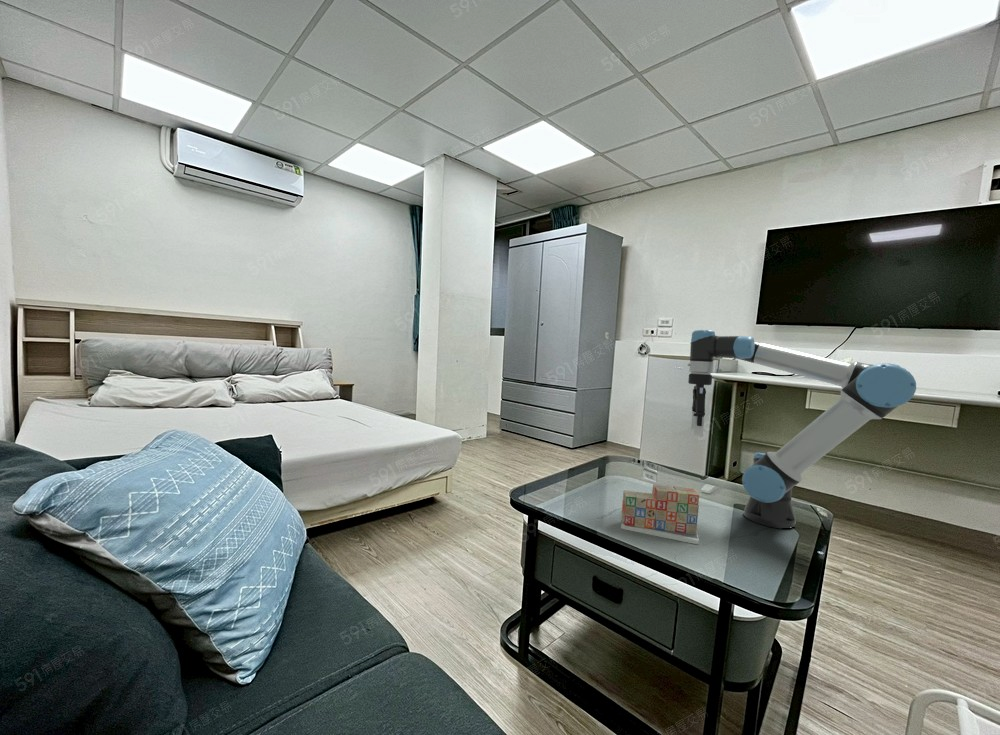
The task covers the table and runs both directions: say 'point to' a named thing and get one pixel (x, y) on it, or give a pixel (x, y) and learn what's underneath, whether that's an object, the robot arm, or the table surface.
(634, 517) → the stack of blocks
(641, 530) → the board
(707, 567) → the table surface
